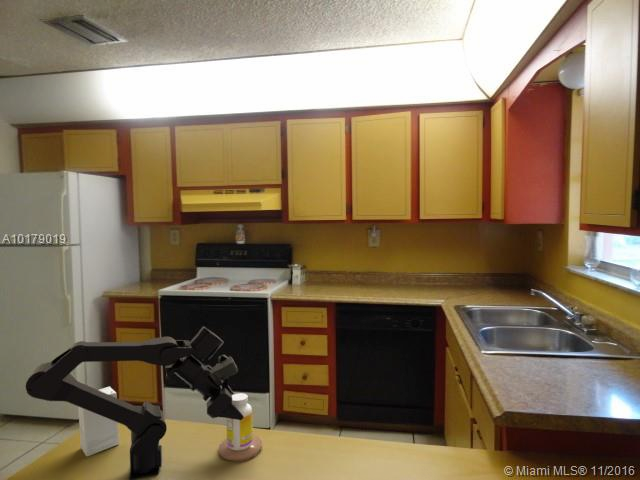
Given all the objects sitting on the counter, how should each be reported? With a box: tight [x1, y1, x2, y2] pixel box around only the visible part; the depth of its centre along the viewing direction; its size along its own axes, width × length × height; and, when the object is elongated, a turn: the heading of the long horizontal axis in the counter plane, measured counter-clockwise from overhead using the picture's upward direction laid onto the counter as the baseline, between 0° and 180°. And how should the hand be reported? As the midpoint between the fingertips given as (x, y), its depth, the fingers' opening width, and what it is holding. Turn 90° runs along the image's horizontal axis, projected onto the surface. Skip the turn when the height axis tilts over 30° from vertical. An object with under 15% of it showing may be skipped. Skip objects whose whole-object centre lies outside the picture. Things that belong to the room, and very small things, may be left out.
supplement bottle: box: [225, 392, 254, 451], centre depth 104 cm, size 7×7×13 cm
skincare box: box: [77, 386, 120, 457], centre depth 106 cm, size 8×6×15 cm
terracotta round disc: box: [218, 434, 263, 462], centre depth 104 cm, size 11×11×1 cm
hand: (240, 410), depth 104 cm, fingers open, 9 cm apart
